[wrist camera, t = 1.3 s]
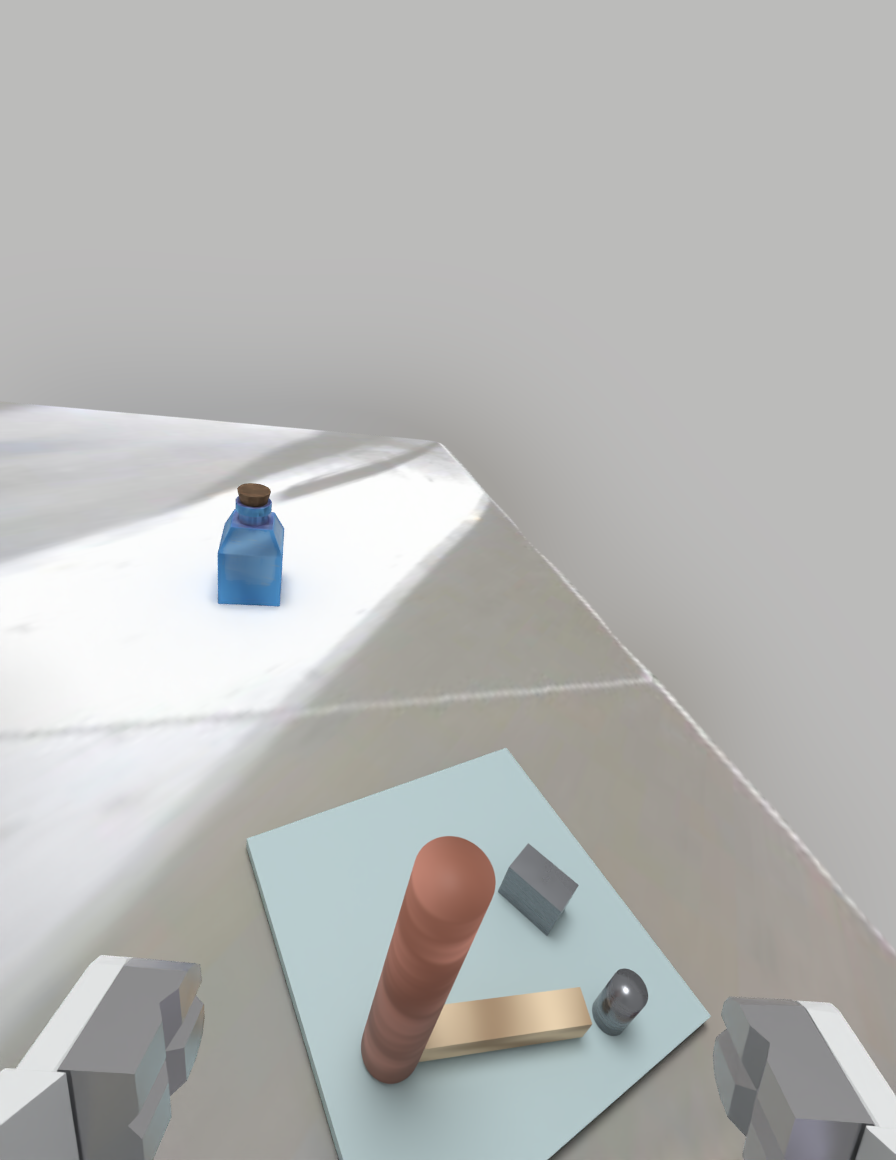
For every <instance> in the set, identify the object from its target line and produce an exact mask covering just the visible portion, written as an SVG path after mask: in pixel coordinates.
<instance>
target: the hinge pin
mask: <svg viewBox="0 0 896 1160" xmlns="http://www.w3.org/2000/svg"><path fill="white" fill-rule="evenodd" d="M647 1001H648V991H647V987H646V985H645V983H644V981H643V980H642V978H641V977H640V976H639V975H638V974H637V973H635V972H634V971H632V970H630V969H626V968H623V969H619V970H618V971H617V972H616V973H615V974H614V975H613V977H612V978H611V979H610V981H609V982H608V983H607V985H606V986H605V987H604V989H603V990H602V991H601V993H600V994H599V995H598V997H597V998H596V999H595V1001H594V1002H593V1005H592V1014H593V1018H594V1020H595V1023H596V1024H597V1026H598V1027H599V1028H600V1029H601V1030H602V1031H603V1032H604V1033H606V1034H607V1035H610V1036H617V1035H620V1034H621V1033H622V1032H623V1031H624V1030H625V1028H626V1027H627V1026H628V1025H629V1024H630V1023H631V1022H632V1020H633V1019H634V1018H635V1017H636V1016H637V1015H638V1014H639V1012H640V1011H641V1010H642V1009H643V1008H644V1007H645V1005H646V1004H647Z"/></svg>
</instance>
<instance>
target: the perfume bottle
mask: <svg viewBox="0 0 896 1160" xmlns="http://www.w3.org/2000/svg"><path fill="white" fill-rule="evenodd" d="M237 489H238V494H239V496H238V497H237V498H236V509H235V510H234V511H233V513H232V514H231V516H230V517H229V519H228V520H227V522H226V523H225V526H224V530H223V534H222V538H221V542H220V546H219V550H218V604H241V605H264V606H280V591H281V575H282V558H283V541H284V528H283V526H282V524H281V523H280V521H279V519H278V518H277V516H276V514H275V513H274V512H271V507H272V502H271V500H270V499H269V496H270V492H271V491H270V489H269V488H268V487H266V486H264V485H261V484H253V483H249V484H243V485H241V486H239V487H238V488H237Z"/></svg>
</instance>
